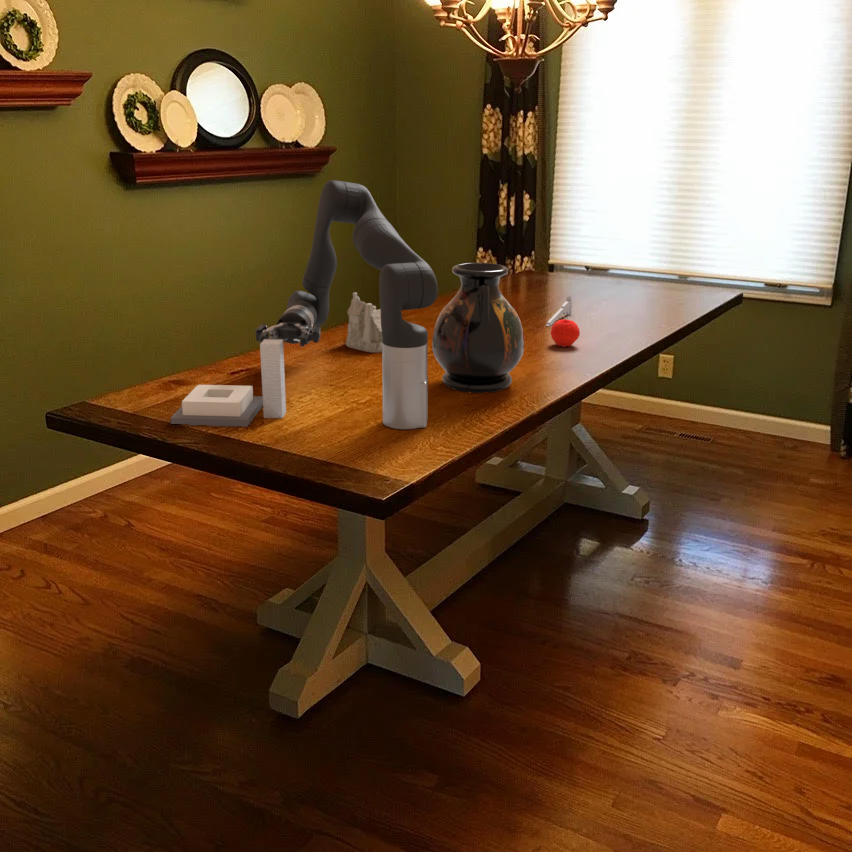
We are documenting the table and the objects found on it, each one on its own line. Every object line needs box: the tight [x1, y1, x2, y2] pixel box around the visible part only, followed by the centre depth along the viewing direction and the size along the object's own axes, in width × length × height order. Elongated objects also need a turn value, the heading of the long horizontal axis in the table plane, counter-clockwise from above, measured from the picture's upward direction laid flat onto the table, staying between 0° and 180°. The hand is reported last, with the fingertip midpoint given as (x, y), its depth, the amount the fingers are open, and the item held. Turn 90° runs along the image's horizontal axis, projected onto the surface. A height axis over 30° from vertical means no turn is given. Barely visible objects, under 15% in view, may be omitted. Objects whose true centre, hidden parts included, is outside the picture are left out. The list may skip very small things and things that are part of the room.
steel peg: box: [259, 339, 287, 419], centre depth 197 cm, size 4×4×16 cm
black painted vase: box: [431, 262, 525, 394], centre depth 217 cm, size 22×22×28 cm
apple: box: [550, 319, 581, 348], centre depth 256 cm, size 8×8×7 cm
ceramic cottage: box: [345, 292, 382, 354], centre depth 256 cm, size 16×16×15 cm
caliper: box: [545, 295, 573, 327], centre depth 286 cm, size 20×1×6 cm, turn 152°
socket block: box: [170, 384, 263, 428], centre depth 199 cm, size 16×16×4 cm
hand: (282, 341), depth 206 cm, fingers open, 8 cm apart
